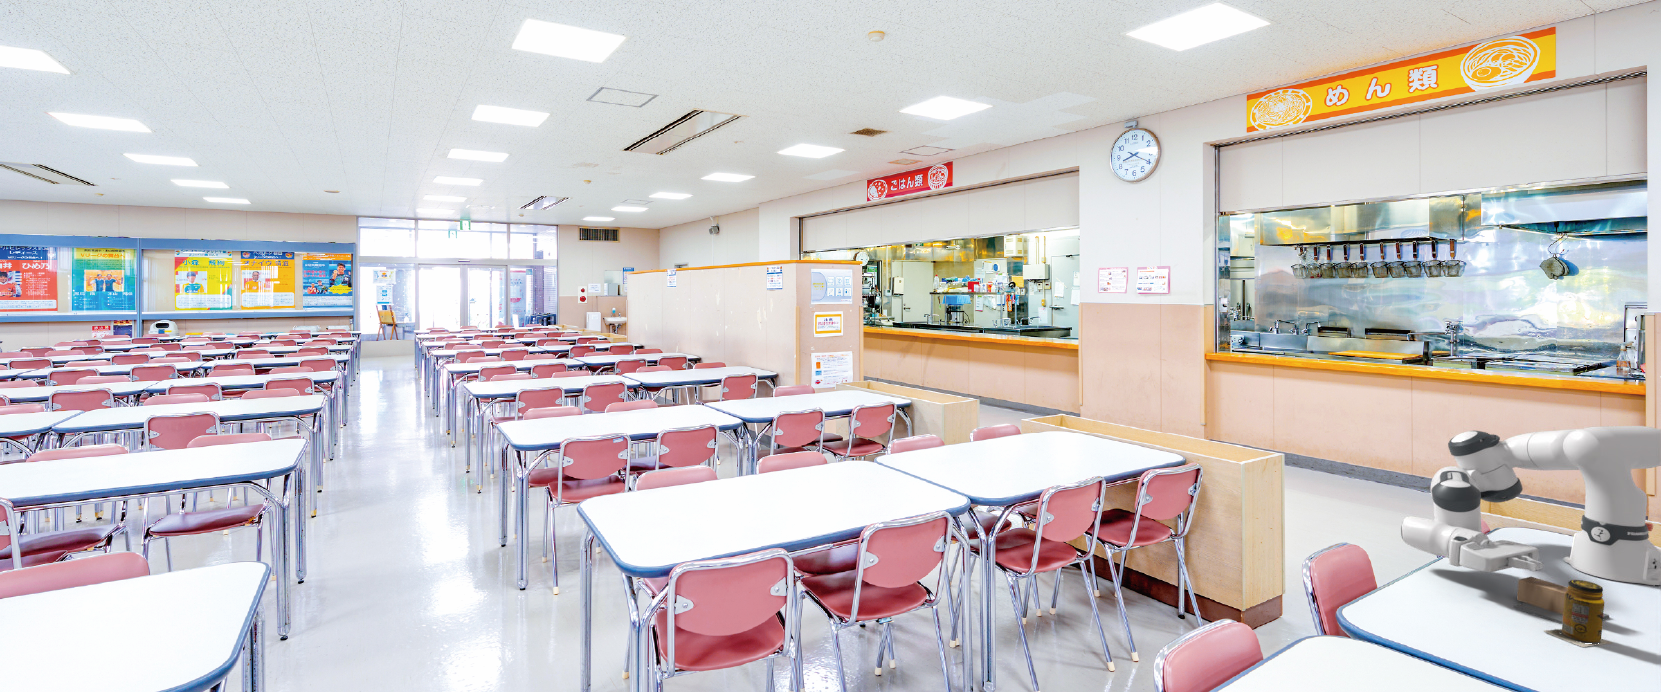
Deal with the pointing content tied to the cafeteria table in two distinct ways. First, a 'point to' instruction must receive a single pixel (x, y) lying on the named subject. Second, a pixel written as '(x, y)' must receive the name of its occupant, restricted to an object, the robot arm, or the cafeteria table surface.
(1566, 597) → the condiment
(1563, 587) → the block
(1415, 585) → the cafeteria table surface
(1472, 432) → the robot arm
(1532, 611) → the mat
